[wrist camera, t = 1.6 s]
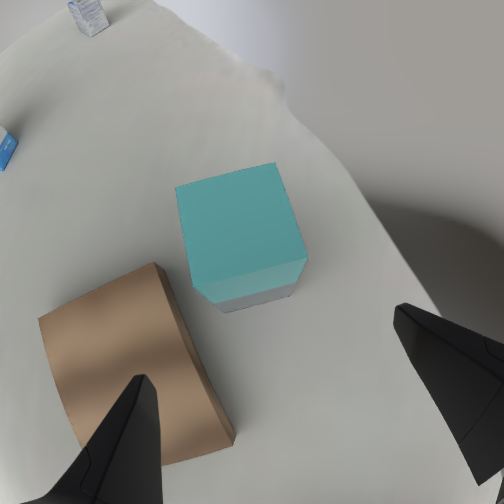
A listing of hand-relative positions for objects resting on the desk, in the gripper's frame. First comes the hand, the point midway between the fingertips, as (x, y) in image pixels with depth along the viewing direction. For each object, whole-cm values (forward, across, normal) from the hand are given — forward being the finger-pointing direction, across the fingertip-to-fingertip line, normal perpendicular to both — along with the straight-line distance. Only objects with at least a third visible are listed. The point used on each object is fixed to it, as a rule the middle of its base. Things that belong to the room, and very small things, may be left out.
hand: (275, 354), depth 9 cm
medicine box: (+52, +18, -34) cm, 64 cm away
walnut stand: (+8, +11, +9) cm, 16 cm away
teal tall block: (+13, 0, +4) cm, 13 cm away
